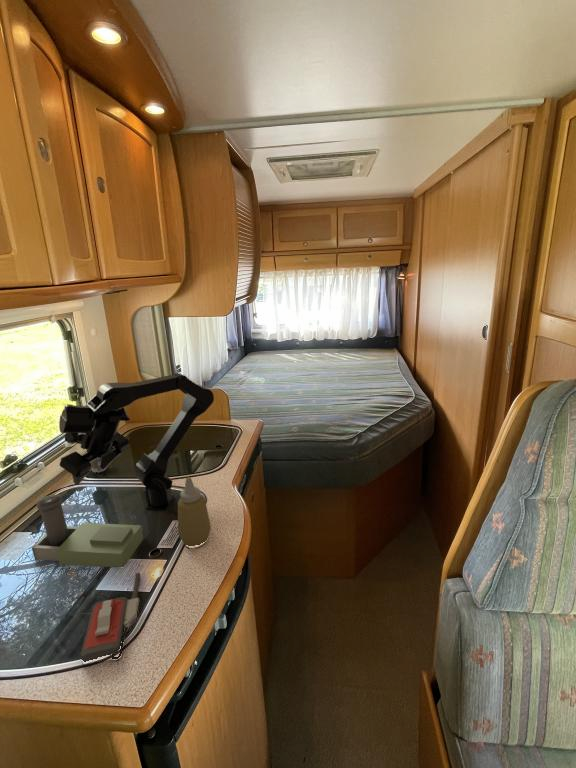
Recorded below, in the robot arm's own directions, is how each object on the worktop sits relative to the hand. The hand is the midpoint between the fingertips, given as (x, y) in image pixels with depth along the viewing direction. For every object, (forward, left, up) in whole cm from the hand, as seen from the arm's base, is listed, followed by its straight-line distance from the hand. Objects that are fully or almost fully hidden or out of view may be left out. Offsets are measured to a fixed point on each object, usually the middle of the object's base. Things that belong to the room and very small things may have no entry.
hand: (89, 475), depth 104 cm
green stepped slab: (-6, +13, -13) cm, 19 cm away
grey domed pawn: (+2, +13, -13) cm, 19 cm away
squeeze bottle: (-32, +8, -13) cm, 35 cm away
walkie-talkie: (-23, +31, -13) cm, 41 cm away
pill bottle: (+14, -25, -13) cm, 31 cm away
